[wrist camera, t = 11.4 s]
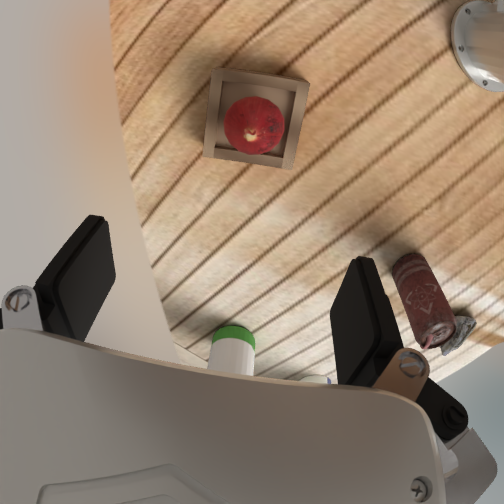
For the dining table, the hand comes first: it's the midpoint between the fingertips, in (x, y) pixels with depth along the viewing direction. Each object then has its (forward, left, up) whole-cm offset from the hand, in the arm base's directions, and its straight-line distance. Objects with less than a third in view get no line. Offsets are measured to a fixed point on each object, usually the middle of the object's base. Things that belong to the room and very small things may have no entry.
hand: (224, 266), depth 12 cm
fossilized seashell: (+31, +45, -28) cm, 62 cm away
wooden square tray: (0, 0, -28) cm, 28 cm away
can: (+18, +27, -28) cm, 43 cm away
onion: (0, 0, -25) cm, 25 cm away
